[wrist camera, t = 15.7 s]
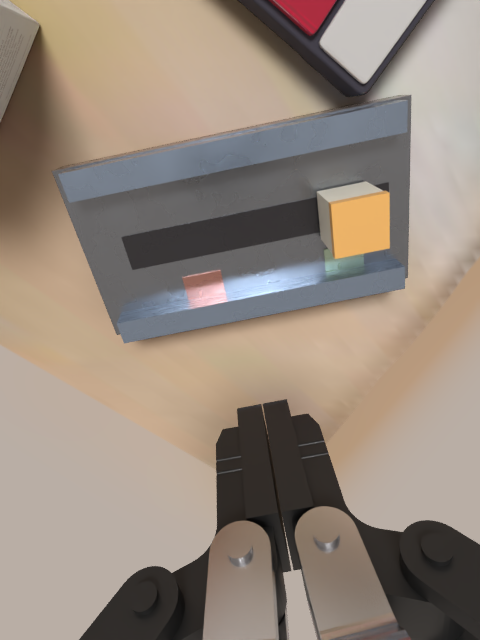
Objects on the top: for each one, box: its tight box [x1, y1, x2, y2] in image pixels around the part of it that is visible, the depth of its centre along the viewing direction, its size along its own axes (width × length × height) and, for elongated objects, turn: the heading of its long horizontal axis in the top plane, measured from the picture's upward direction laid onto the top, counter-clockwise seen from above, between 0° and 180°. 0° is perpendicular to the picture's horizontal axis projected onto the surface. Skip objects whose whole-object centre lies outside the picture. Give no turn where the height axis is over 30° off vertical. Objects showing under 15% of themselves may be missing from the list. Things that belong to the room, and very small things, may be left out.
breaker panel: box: [52, 95, 411, 343], centre depth 30 cm, size 13×24×4 cm, turn 101°
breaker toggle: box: [317, 181, 390, 259], centre depth 27 cm, size 4×4×4 cm
